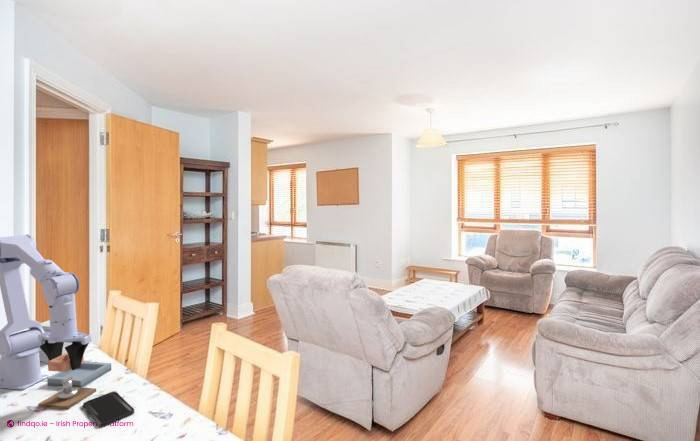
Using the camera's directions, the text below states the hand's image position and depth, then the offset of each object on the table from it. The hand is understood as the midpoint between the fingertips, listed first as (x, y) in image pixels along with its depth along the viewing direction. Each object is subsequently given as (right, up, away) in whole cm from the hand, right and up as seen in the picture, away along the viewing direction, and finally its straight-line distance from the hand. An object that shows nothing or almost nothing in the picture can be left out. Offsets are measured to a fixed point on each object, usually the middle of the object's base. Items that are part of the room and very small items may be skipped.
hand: (66, 367), depth 102 cm
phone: (+15, -10, -5) cm, 18 cm away
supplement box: (-24, -7, +26) cm, 36 cm away
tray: (-5, -8, +12) cm, 15 cm away
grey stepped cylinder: (0, -9, 0) cm, 9 cm away
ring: (0, 0, 0) cm, 0 cm away
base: (0, -9, 0) cm, 9 cm away
